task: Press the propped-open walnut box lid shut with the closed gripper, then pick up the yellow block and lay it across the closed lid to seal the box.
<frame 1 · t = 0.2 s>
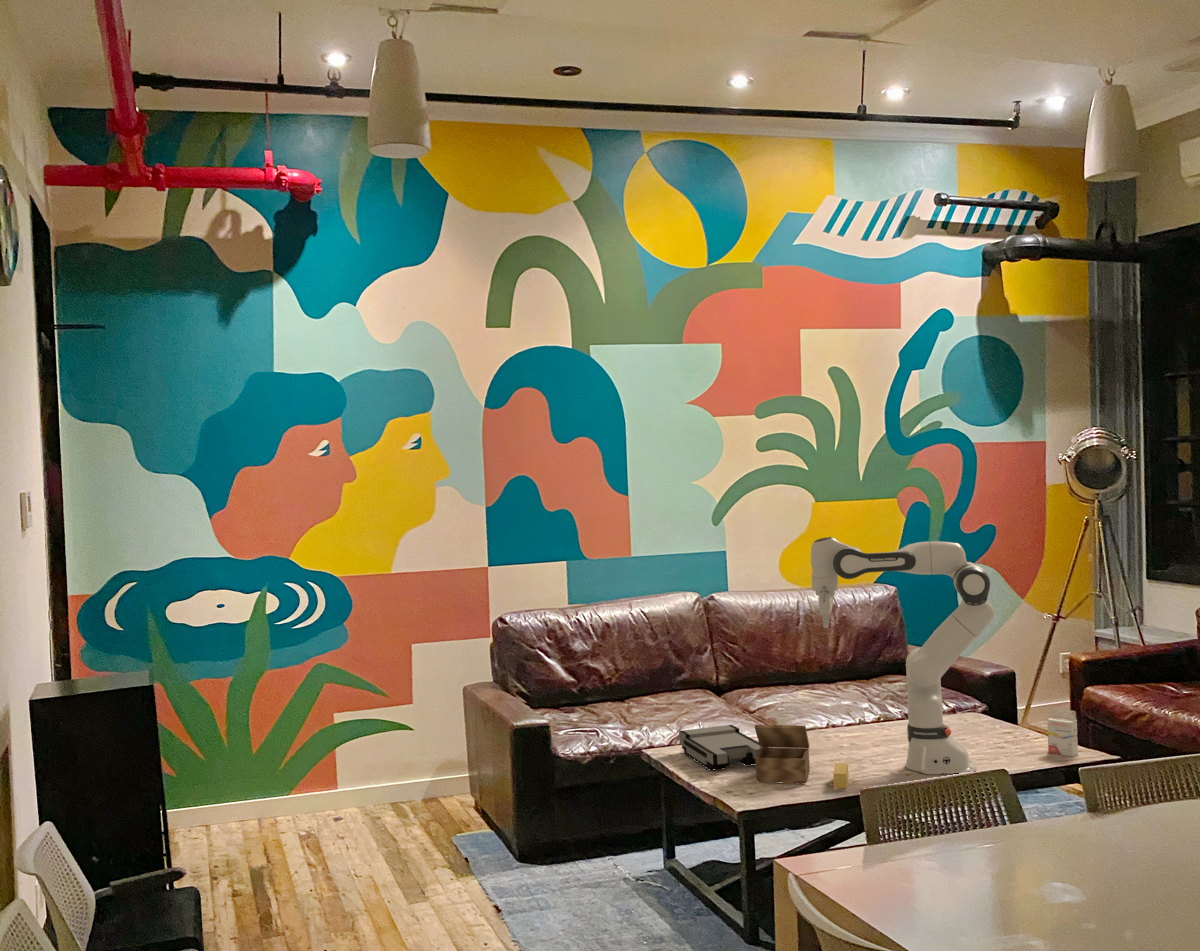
hand: (826, 625, 378), 48 cm above the table, tool pointing down, fingers open, 8 cm apart
yellow block: (841, 784, 356), on the table
wooden box: (783, 777, 366), on the table
ink cartridge box: (1063, 754, 379), on the table
game console: (723, 761, 391), on the table
box lid: (782, 736, 367), point 13 cm above the table, hinge at 40.0°
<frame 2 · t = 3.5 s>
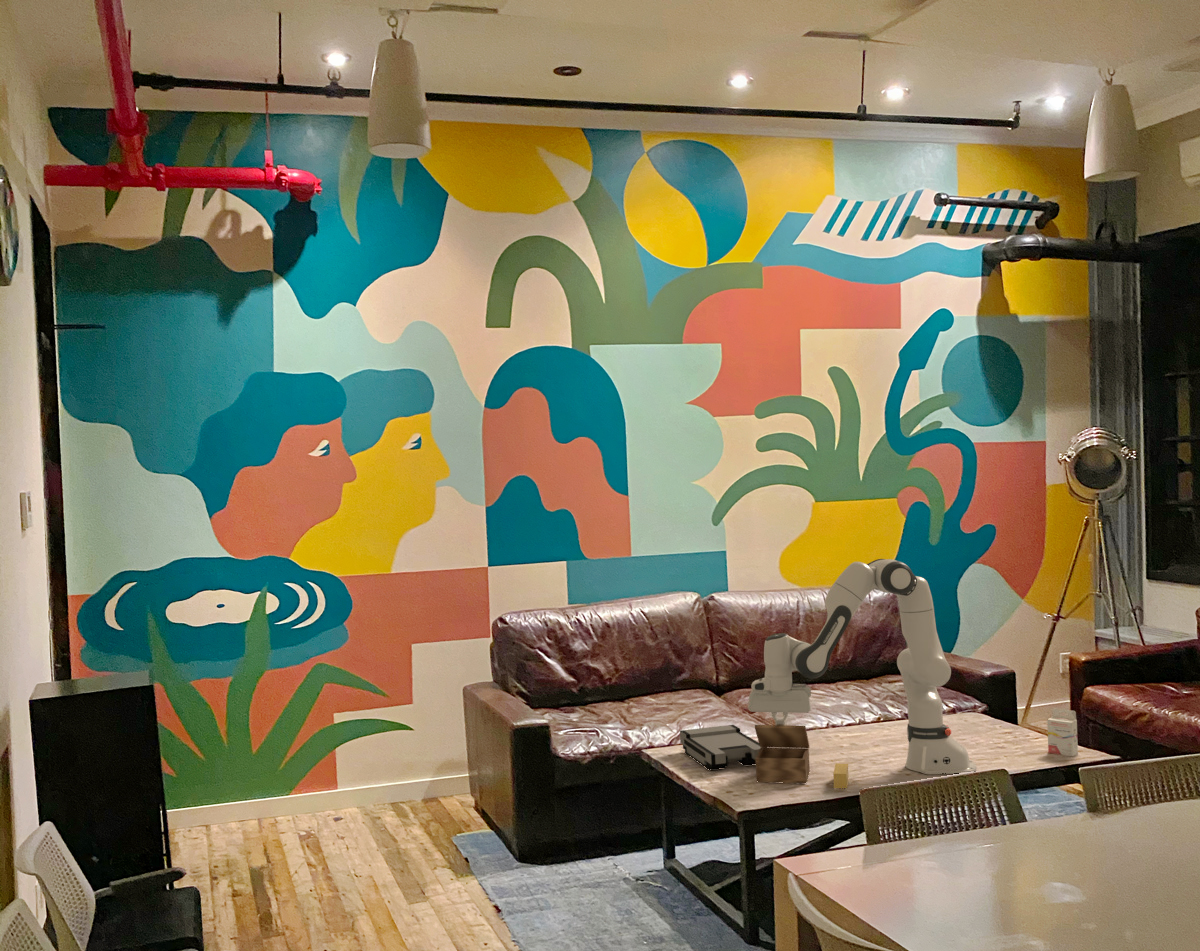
hand: (780, 725, 364), 18 cm above the table, tool pointing down, fingers closed, pressing on box lid
box lid: (782, 736, 367), point 13 cm above the table, hinge at 39.9°, touching gripper
everything else where it was.
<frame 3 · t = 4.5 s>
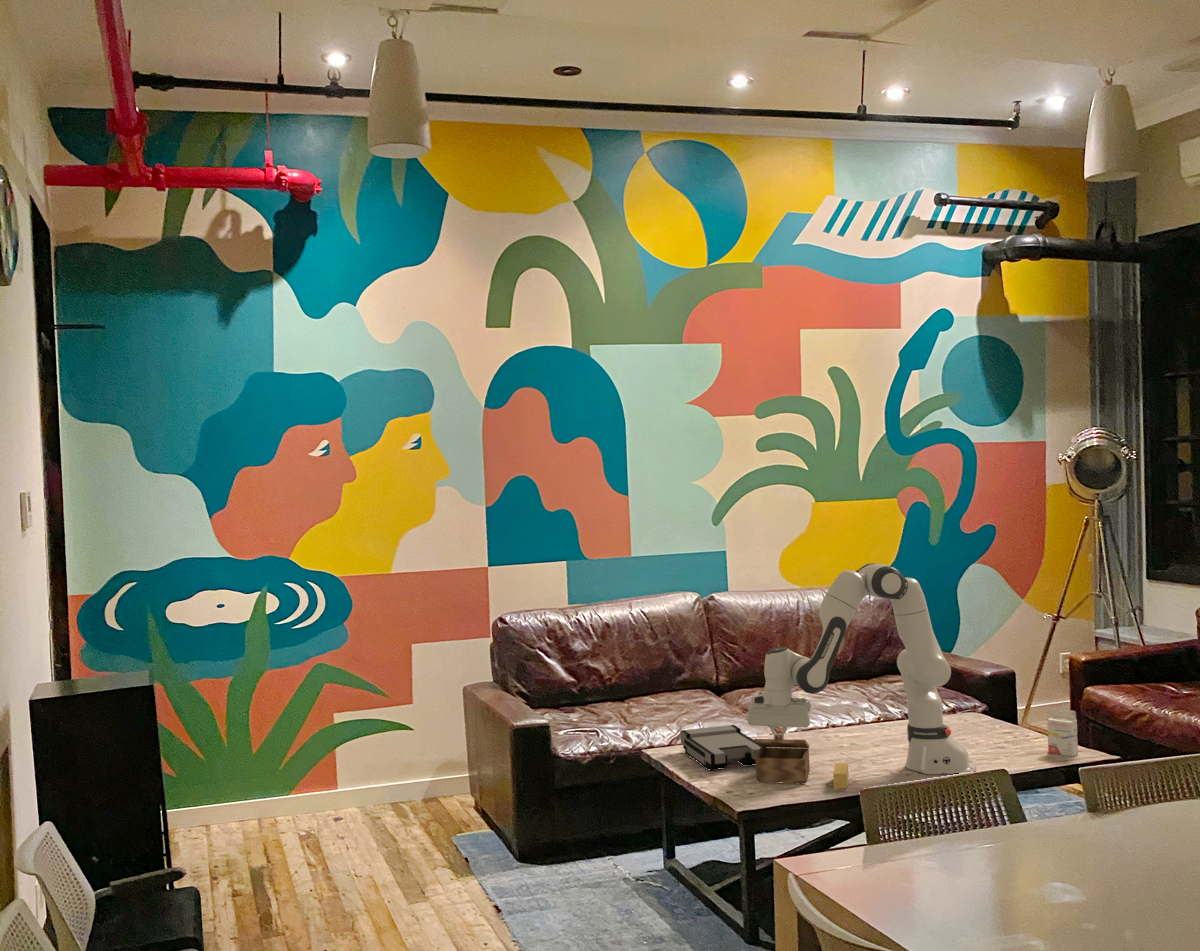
hand: (778, 739, 363), 13 cm above the table, tool pointing down, fingers closed, pressing on box lid
box lid: (782, 743, 366), point 11 cm above the table, hinge at 20.7°, touching gripper
everything else where it was.
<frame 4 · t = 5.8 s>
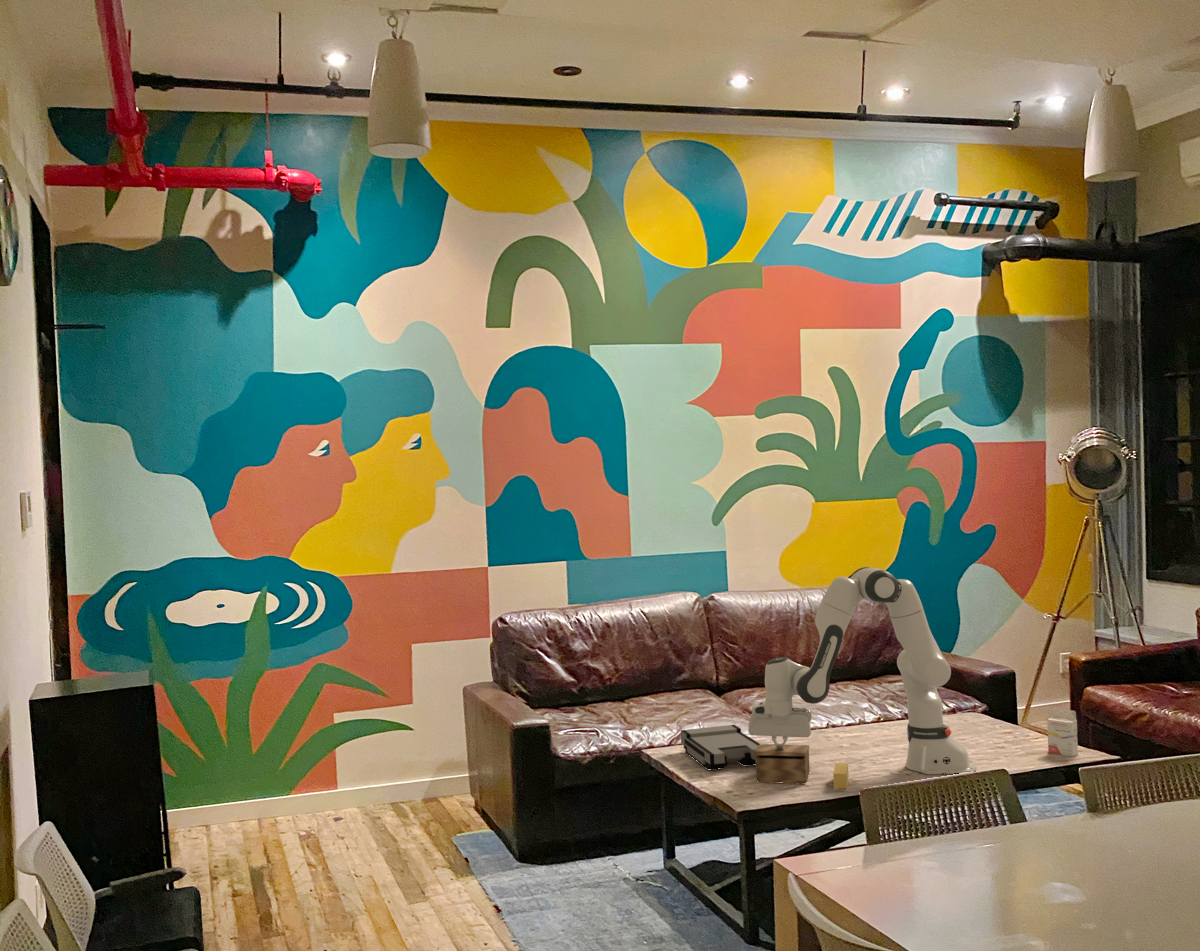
hand: (780, 749, 363), 10 cm above the table, tool pointing down, fingers closed, pressing on box lid
box lid: (782, 750, 366), point 9 cm above the table, hinge at 4.2°, touching gripper
everything else where it was.
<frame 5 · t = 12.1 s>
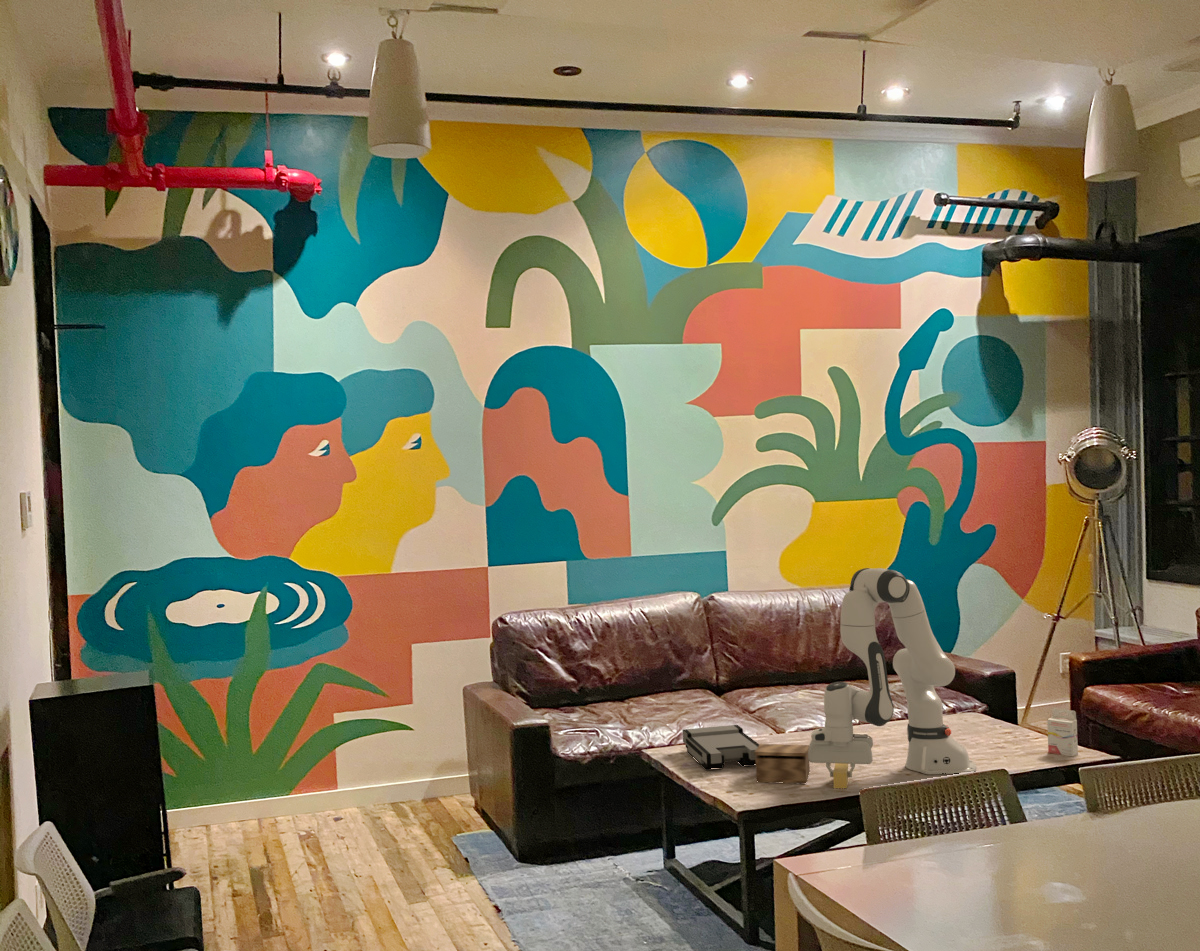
hand: (841, 776, 356), 2 cm above the table, tool pointing down, fingers closed on yellow block, 4 cm apart
yellow block: (841, 783, 356), on the table, touching gripper
box lid: (782, 750, 366), point 9 cm above the table, hinge at 4.2°
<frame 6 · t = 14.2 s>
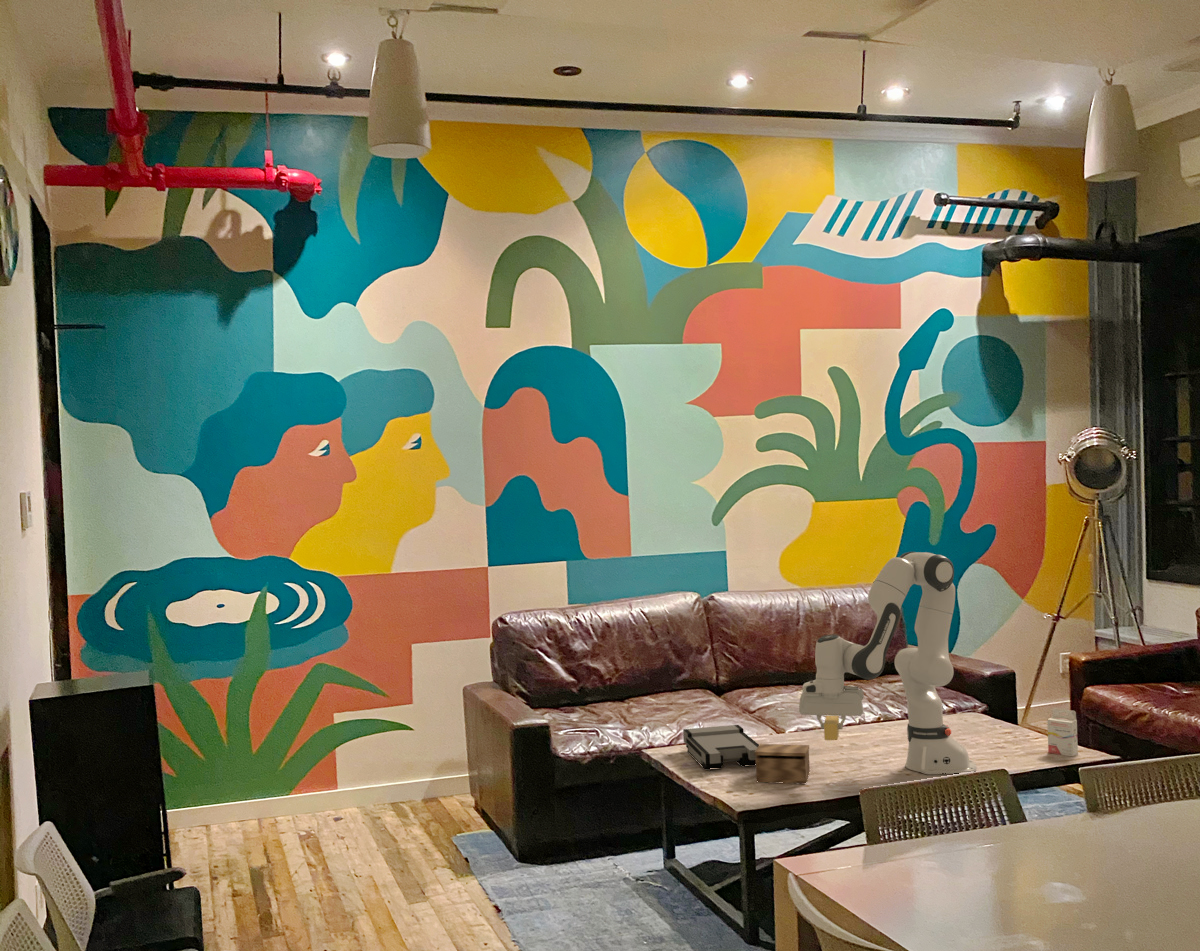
hand: (831, 728, 357), 17 cm above the table, tool pointing down, fingers closed on yellow block, 4 cm apart
yellow block: (832, 735, 357), point 15 cm above the table, touching gripper
when the fingers open (13 cm above the table, at t = 16.4 s): yellow block stays where it is, resting on box lid.
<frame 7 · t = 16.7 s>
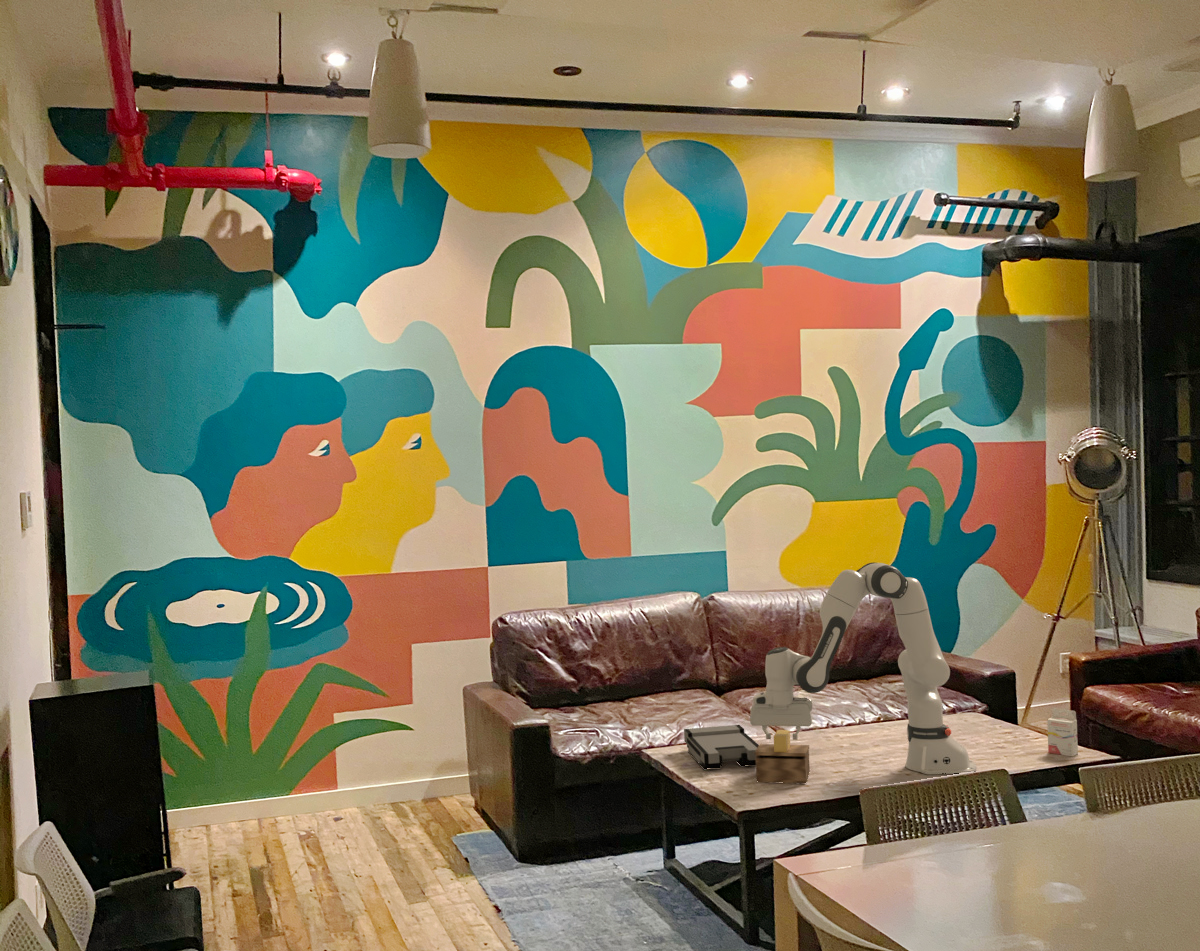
hand: (781, 739, 366), 13 cm above the table, tool pointing down, fingers open, 7 cm apart
yellow block: (782, 748, 366), point 9 cm above the table, touching box lid
box lid: (782, 750, 366), point 9 cm above the table, hinge at 4.1°, touching yellow block
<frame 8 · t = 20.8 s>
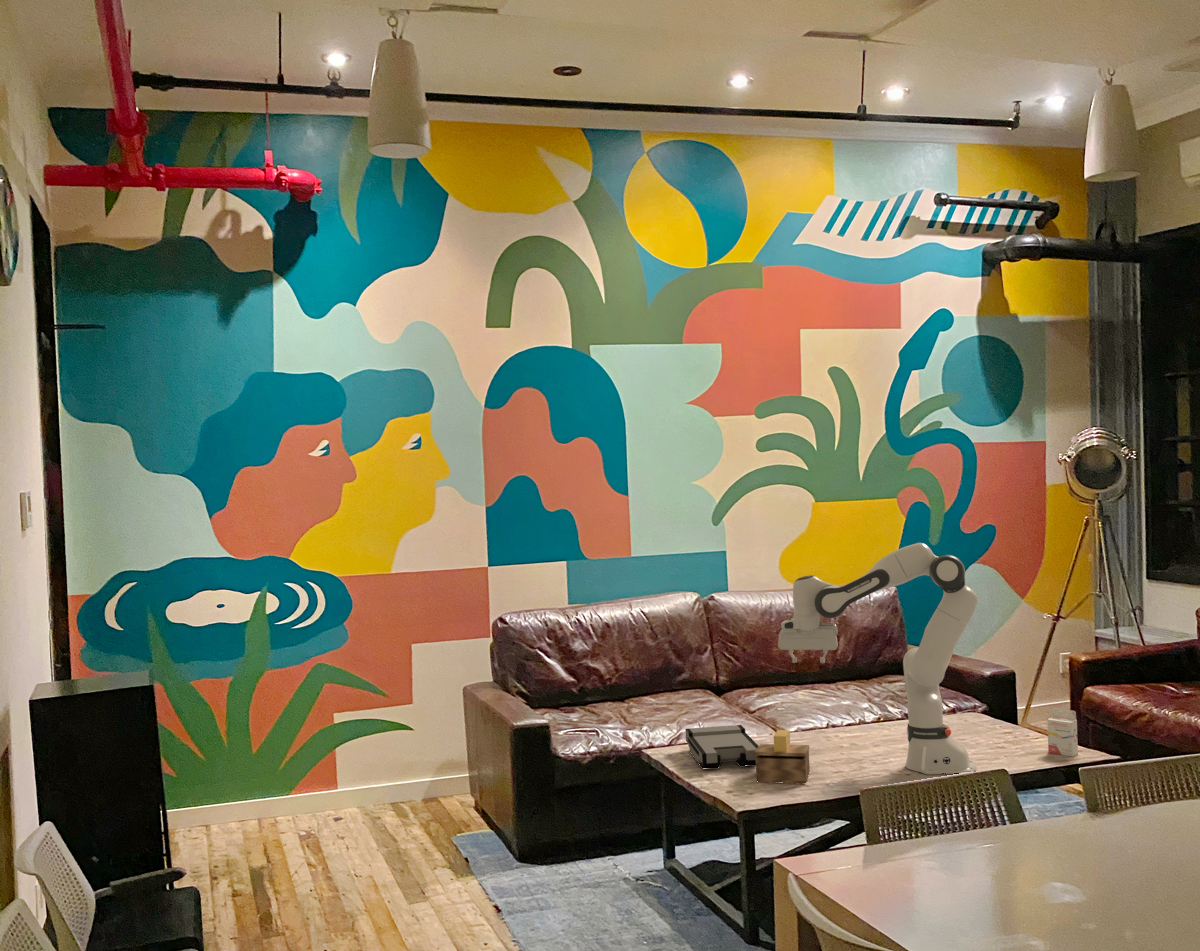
hand: (808, 662, 384), 34 cm above the table, tool pointing down, fingers open, 8 cm apart
at the end: box lid at +4° (first picture: +40°); yellow block inside the target area on the wooden box (0.1 cm from its centre), point 9.5 cm above the wooden box's base; the gripper is holding nothing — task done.
